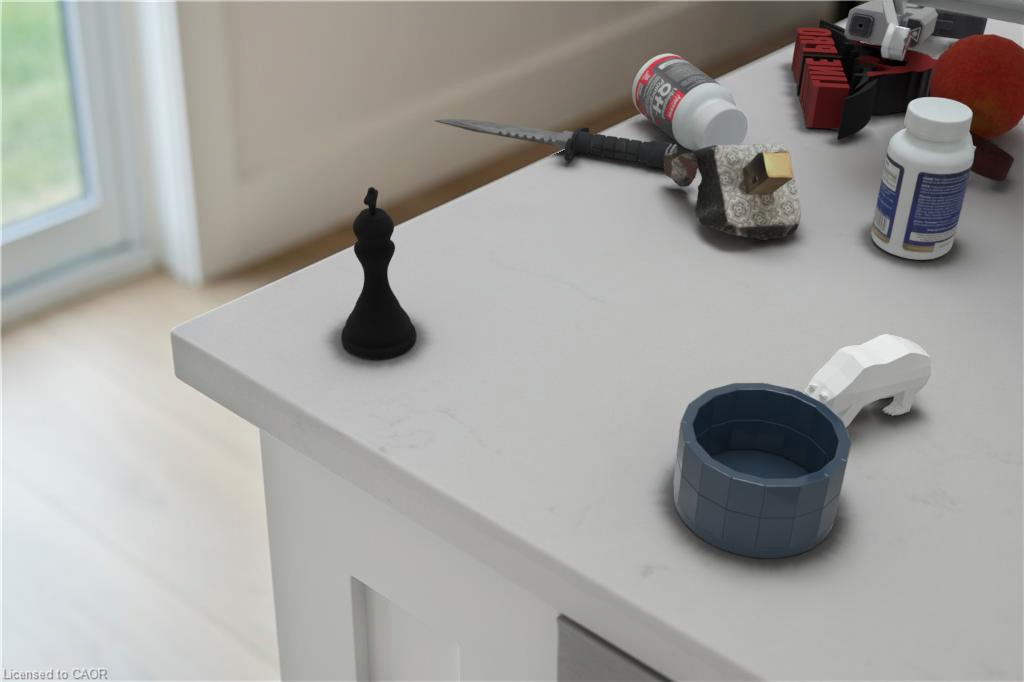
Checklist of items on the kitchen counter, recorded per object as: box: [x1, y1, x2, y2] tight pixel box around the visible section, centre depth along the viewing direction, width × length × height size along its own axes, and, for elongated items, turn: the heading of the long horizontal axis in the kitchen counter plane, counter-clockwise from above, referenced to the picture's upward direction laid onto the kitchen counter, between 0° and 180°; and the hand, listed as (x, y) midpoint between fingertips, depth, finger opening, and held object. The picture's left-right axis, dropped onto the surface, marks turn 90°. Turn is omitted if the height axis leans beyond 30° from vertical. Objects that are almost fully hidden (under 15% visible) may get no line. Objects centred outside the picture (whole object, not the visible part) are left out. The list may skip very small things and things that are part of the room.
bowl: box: [672, 382, 852, 559], centre depth 61 cm, size 8×8×4 cm
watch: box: [965, 131, 1015, 182], centre depth 94 cm, size 8×5×4 cm
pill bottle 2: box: [870, 97, 974, 261], centre depth 82 cm, size 5×5×10 cm
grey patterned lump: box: [663, 142, 802, 241], centre depth 86 cm, size 8×7×12 cm
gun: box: [844, 0, 989, 50], centre depth 109 cm, size 2×25×10 cm
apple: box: [930, 33, 1024, 140], centre depth 98 cm, size 8×8×8 cm
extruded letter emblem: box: [790, 18, 938, 141], centre depth 104 cm, size 18×4×11 cm
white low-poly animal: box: [804, 333, 932, 428], centre depth 67 cm, size 2×8×5 cm, turn 119°
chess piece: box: [340, 186, 417, 360], centre depth 71 cm, size 4×4×10 cm
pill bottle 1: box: [631, 53, 749, 151], centre depth 96 cm, size 5×5×10 cm
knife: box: [434, 118, 678, 169], centre depth 95 cm, size 19×2×5 cm
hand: (962, 70), depth 83 cm, fingers open, 8 cm apart
